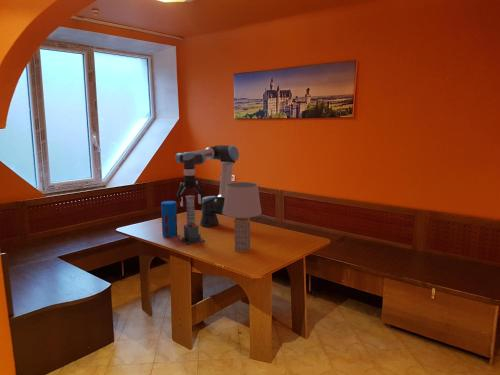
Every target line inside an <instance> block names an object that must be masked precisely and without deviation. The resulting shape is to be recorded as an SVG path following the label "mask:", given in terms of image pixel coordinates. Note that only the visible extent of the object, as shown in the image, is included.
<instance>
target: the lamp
mask: <svg viewBox="0 0 500 375" xmlns="http://www.w3.org/2000/svg"><path fill="white" fill-rule="evenodd" d="M258 185H259V184H257V183H255V182H251V181H250V182H249V181H248V182H247V181H238V182H237V181H236V182H231V183H229V184H227V185H226V193H225V200H224V208H223V214H222V215H224V216H226V217H229V218H235V219H234V220H233V221H234V222H233V223H234V252H242V253H244V252H245V253H248V252H249V250H250V248H251V218H256V217H258V216H260V215H262V213H263V212H262V206H261V200H260V192H259V191H260V190H259V187H258Z"/></svg>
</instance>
